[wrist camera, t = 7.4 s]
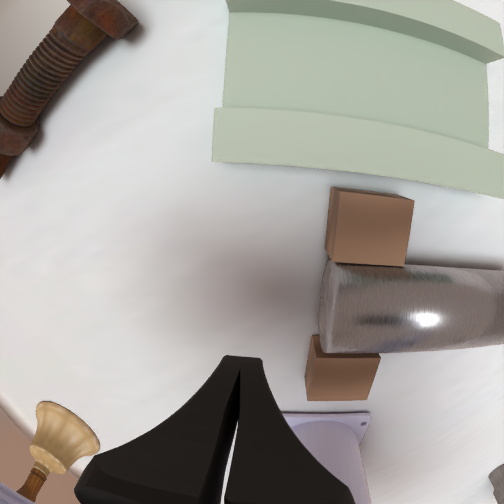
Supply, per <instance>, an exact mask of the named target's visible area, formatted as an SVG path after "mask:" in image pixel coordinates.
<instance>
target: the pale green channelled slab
mask: <svg viewBox="0 0 504 504" xmlns="http://www.w3.org/2000/svg"><path fill="white" fill-rule="evenodd" d="M226 2H227V5H228V8H229V12H230V15H229V26H228V38H227V50H226V63H225V76H224V91H223V107H222V108H214V123H213V141H212V162H234V163H255V164H271V165H286V166H298V167H310V168H320V169H330V170H339V171H348V172H356V173H364V174H372V175H379V176H386V177H393V178H399V179H406V180H412V181H418V182H424V183H429V184H435V185H440V186H446V187H451V188H456V189H461V190H465V191H470V192H475V193H479V194H484V195H488V196H492V197H497V198H501V199H504V154H501V153H498V152H495V151H492V150H489V149H488V141H489V102H488V82H487V70H486V64H487V63H489V62H492V61H495V60H498V59H501V58H504V45H503V39H502V33H501V28H500V23H498V22H496V21H495V20H493V19H491V18H489V17H487V16H485V15H483V14H481V13H479V12H477V11H475V10H473V9H471V8H469V7H466V6H464V5H462V4H460V3H457V2H455V1H453V0H226Z"/></svg>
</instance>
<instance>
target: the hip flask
mask: <svg viewBox="0 0 504 504" xmlns="http://www.w3.org/2000/svg"><path fill="white" fill-rule="evenodd" d="M489 479H490V481H491V483H492V485H493V487H494V492H493V494H494V496H495V498H496V500H497V503H498V504H504V464H503V465H501V466H499V467H497V468H496V469H495V470H493V471H492V472H491V473H490V475H489Z"/></svg>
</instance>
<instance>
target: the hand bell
mask: <svg viewBox="0 0 504 504" xmlns="http://www.w3.org/2000/svg"><path fill="white" fill-rule="evenodd" d="M36 417H37V421H38V425H37V431H36V434H35V436H34V439H33V441H32V443H31V445H30V453H31V454H32V456H33V457H34V459H35V461H36V462H35V464H34V466H33V468H32V470H31V473H30V474H29V476H28V478H27V480H26V482H25V484H24V485H23V486H22V487H21V488H20V489H19V490H18V491H17V493H18V494H20V495H22V496H23V497H25V498H27V499H29V500H30V501H32V502H34V503H35V500H36V496H37V494H38V492H39V490H40V489H41V487H42V485H43V484H44V482H45V481H46V479H47V478H46V477H47V476H48V474H49V473H51V472H52V473H56V474H64V473H65V472H67V470H68V469H69V468H70V466H71V465H72V464H73V463H74V462H75V461H77V460H78V459H79V458H81V457H83V456H91V455H94V454H96V453H97V452H98V451H99V448H100V444H99V441H98V438H97V437H96V435H95V434H94V432H93V431H92V430H91V429H90V427H89V426H88V425H87V424H86V423H85V422H84V421H83V420H81V419H80V418H79V417H78V416H76V415H75V414H74V413H72V412H71V411H69V410H67V409H66V408H64V407H62V406H60V405H58V404H56V403H53V402H47V401H43V402H40V403H39V404H38V405H37V407H36Z"/></svg>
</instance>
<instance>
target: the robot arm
mask: <svg viewBox="0 0 504 504" xmlns="http://www.w3.org/2000/svg"><path fill="white" fill-rule="evenodd" d="M370 420H371V415H370V413H347V414H289V413H281V411H280V409H279V407H278V405H277V403H276V401H275V399H274V397H273V395H272V392H271V390H270V388H269V385H268V382H267V379H266V376H265V373H264V369H263V362H262V360H261V359H260V358H252V357H240V356H230V355H226V356H224V357H223V358H222V360H221V362H220V363H219V365H218V366H217V368H216V369H215V371H214V372H213V373H212V375H211V376H210V377H209V378H208V380H207V381H206V382H205V383H204V384H203V386H202V387H201V388H200V389H199V390H198V391H197V392H196V393H195V394H194V395H193V396H192V397H191V398H190V399H189V400H188V401H187V402H186V403H185V404H184V405H183V406H182V407H181V408H180V409H179V410H178V411H176V412H175V413H174V414H173V415H171V416H170V417H169V418H168V419H166V420H165V421H163V422H162V423H160V424H159V425H158V426H156V427H155V428H153V429H152V430H150V431H148V432H147V433H145V434H143V435H141V436H139V437H137V438H136V439H134V440H132V441H130V442H128V443H126V444H124V445H122V446H119V447H117V448H114V449H111V450H109V451H106V452H104V453H101V454H98V455H95V456H94V457H93V458H92V460H91V461H90V463H89V464H88V465H87V467H86V468H85V469H84V471H83V473H82V475H81V477H80V479H79V481H78V483H77V484H76V486H75V488H74V493H75V495H76V497H77V499H78V500H79V502H80V503H81V504H220V503H221V496H222V489H223V482H224V475H225V470H226V465H227V461H228V457H229V454H230V450H231V446H232V442H233V438H234V434H235V430H236V426H237V422H238V428H237V434H236V440H235V446H234V452H233V457H232V462H231V468H230V472H229V477H228V482H227V487H226V492H225V496H224V504H372V503H371V499H370V494H369V489H368V484H367V480H366V475H365V471H364V466H363V462H362V457H361V453H360V449H359V445H360V443H361V441H362V439H363V436H364V434H365V432H366V430H367V427H368V425H369V423H370ZM0 504H36V503H34V502H32V501H30V500H29V499H27V498H25V497H23V496H22V495H20V494H18V493H17V492H15V491H14V490H12V489H10V488H9V487H7V486H6V485H4V484H3V483H1V482H0Z"/></svg>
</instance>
